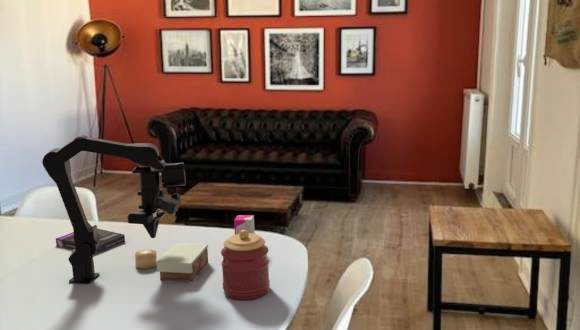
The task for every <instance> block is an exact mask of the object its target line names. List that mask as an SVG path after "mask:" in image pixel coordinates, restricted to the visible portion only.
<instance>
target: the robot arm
mask: <svg viewBox="0 0 580 330" xmlns="http://www.w3.org/2000/svg"><path fill="white" fill-rule="evenodd" d="M81 152H89V153H93V154H100V155H107V156H111V157H117V158H123V159H126V160H128V161H131V162H133V163H136V164H137V165H136V166H135V167H134V168H133V169H132V171H131V173H132V174H138V175H139V176H138V177H139V189H140V190H139V191H137V196H140V204H139V205H138V209H135V210H133V211H131V212H130V213H129V214H128V215H127V216H126V217H127V218H126V219H127V223H128V224H130V225H131V224H133V225H136V224H137V225H143V227H144V229H145V230H146V232H147V233H148V235H149V237H150V238H151V239H156V237H157V232H158V228H159V224H160V220H161V219H162V218H163V217H164V216H165V215H166V213H167V214H169V215H174V214H175V213H176V212H178V211H179V208H180V205H182V199H181V195H180V193H178V192H175V193H173V194H171V195H170V194H168V195H167V194H165V190H164V188H161V183H162V184H163V185H165V187H179V186H180V187H181V186H186V171H185V164H184V163H185V162H177V163H176V162H175V163H167V162H166V161H165V159H164V158H163V157H162V156H161V155H160V154H159V153H160V151H159V149H158V147H157V145H155V144H154V143H150V142H148V143H147V142H142V143H141V142H138V143H137V142H135V143H124V142H119V141H113V140H108V139H103V138H97V137H92V136H91V137H90V136H87V135H85V134H84V135H83V134H81V135H78V136H77V137H75V138H74V139H73V140H72V141H70V142H69V143H67V144H66V145H63V147H60V148H58V147H56V148H53V149H51V150H49V151H48V152H47V153H46V154H45V155H43V158H42V160H41V162H42V163H41V164H42V166H43V168H44V170H45V171H46V173H47V174H48V176H49V177H50V178H51V180H52V181H53V182H54V183H55V185H56V188H57V189H58V192H59V195H60V198H61V200H62V203H63V206H64V207H65V211H66V213H67V215H68V219H69V222H70V223H71V226H72V229H73V232H74V244H75V248H74V250H73V249H72V251H71V253H70V255H69V257H68V259H67V260H68V262H69V264H70V265H71V269H72V277H71V278H70V279H69V280H68V282H69V283H75V284H76V283H77V284H90V283H91V282H93V281H94V280H95V279H96V278H97V277H98V276H100V273H99V272H95V262H94V255H96V254H95V252H96V250H97V248H98V245H99V243H100V238H101V235H100V234H99V233H98V229H99V228H98V225H97V224H94V225H93V226H92V224H90V222H89V221H88V219H87V216H86V213H85V210H84V208H83V205H82V203H81V199H80V197H79V194H78V192H77V189H76V185H75V184H74V181H73V179H72V165H71V159H73V158H74V157H75V156H77V155H78V154H80V153H81ZM160 173H161V174H160ZM160 175H161V177H160ZM160 179H161V180H160Z"/></svg>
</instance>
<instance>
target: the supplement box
mask: <svg viewBox="0 0 580 330" xmlns="http://www.w3.org/2000/svg"><path fill="white" fill-rule="evenodd" d="M233 223H234V224H233V226H234V235H236V234H239V233H240V231H241V230H247V231H248V233H252V234H256V233H255V232H256V231H255V215H254V214H246V215H245V214H244V215H243V214H239V215H236V217H235V218H234V220H233Z"/></svg>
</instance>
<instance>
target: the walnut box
mask: <svg viewBox="0 0 580 330" xmlns="http://www.w3.org/2000/svg"><path fill="white" fill-rule="evenodd" d="M207 265H209V251H208V248H207V249H206V250H205V251H204V252H203V253H202V254H201V255H200V256H199V258H198V259H197V260H196V261H195V262H194V263H193V264H192V269H193V272H192V273H176V272H159V277H160V279H159V280H161V281H176V282H177V281H178V282H179V281H180V282H194V281H195V280H196V278H197V277H198V276H199V275H200V274H201V272H203V270H204V269H205V267H206V266H207Z"/></svg>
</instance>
